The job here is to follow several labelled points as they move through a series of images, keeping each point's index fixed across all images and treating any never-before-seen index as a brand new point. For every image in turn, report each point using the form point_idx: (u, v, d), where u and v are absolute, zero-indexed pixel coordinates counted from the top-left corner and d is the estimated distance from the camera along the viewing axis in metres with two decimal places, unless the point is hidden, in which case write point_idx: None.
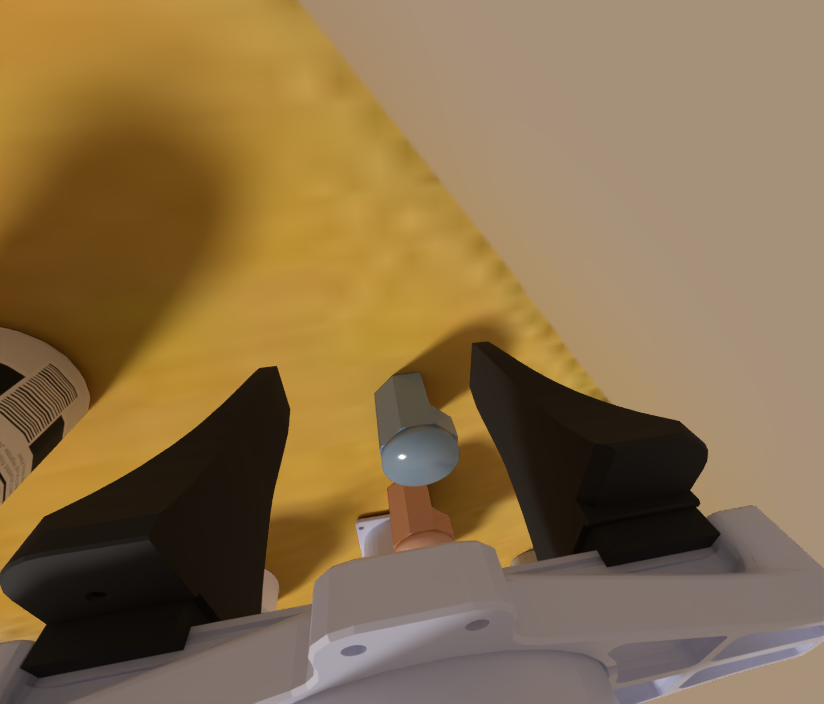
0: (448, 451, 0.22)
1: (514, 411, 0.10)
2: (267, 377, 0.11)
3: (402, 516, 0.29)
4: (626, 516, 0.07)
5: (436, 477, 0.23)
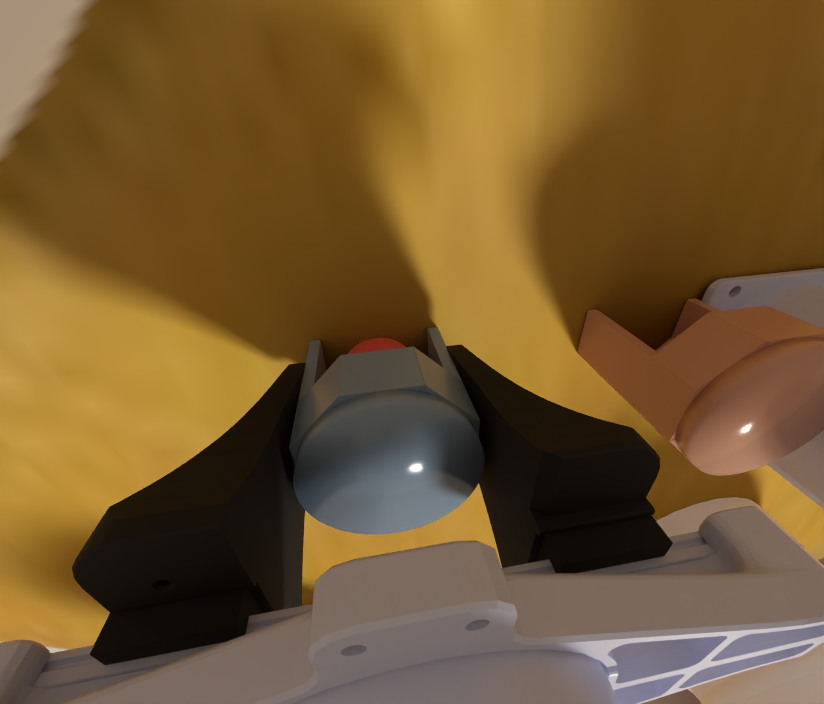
0: (365, 433, 0.08)
1: (480, 416, 0.10)
2: (299, 373, 0.11)
3: (639, 412, 0.13)
4: (578, 525, 0.07)
5: (465, 442, 0.09)
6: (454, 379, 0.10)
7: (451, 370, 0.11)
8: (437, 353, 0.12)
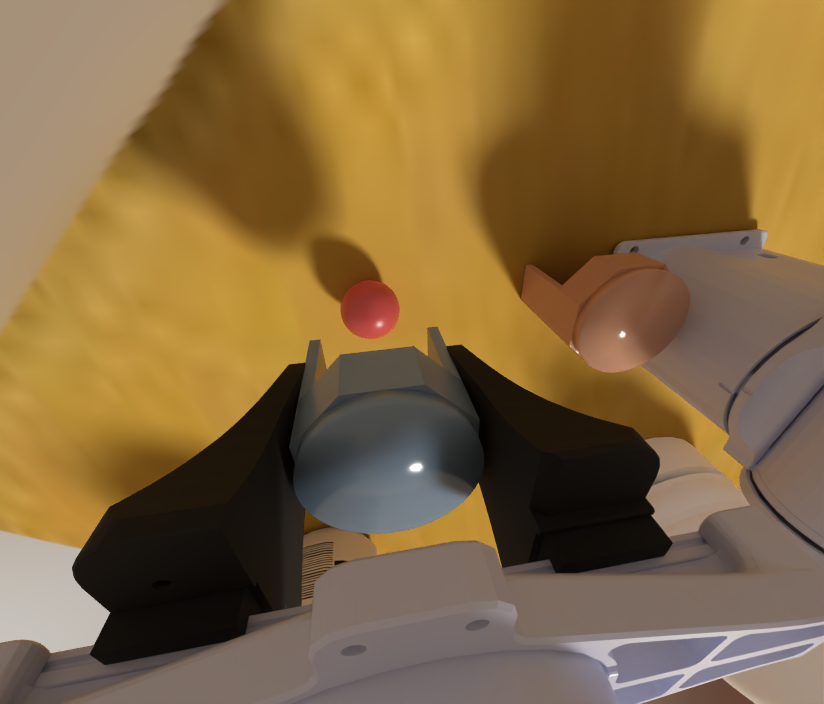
0: (366, 432, 0.08)
1: (480, 416, 0.10)
2: (299, 373, 0.11)
3: None
4: (579, 525, 0.07)
5: (465, 442, 0.09)
6: (454, 379, 0.10)
7: (451, 370, 0.11)
8: (437, 353, 0.12)
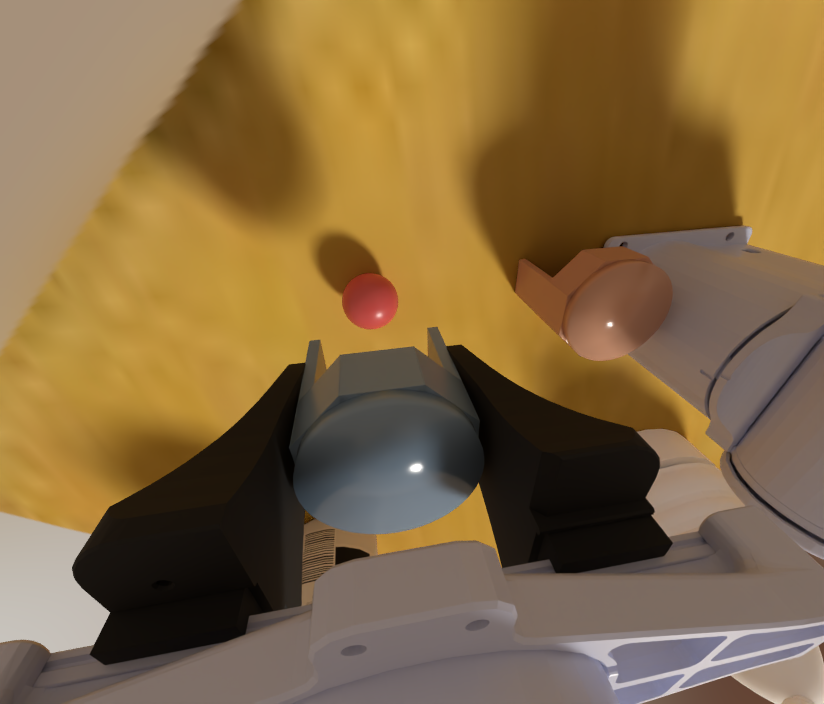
0: (366, 433, 0.08)
1: (480, 416, 0.10)
2: (299, 373, 0.11)
3: None
4: (579, 525, 0.07)
5: (465, 442, 0.09)
6: (454, 379, 0.10)
7: (451, 370, 0.11)
8: (437, 353, 0.12)
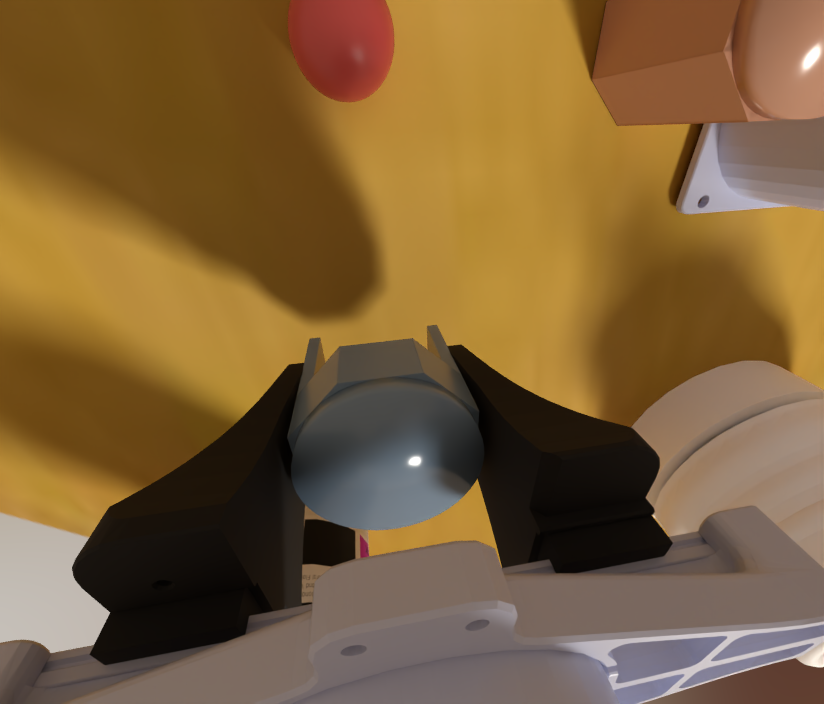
0: (364, 420, 0.08)
1: (480, 416, 0.10)
2: (299, 373, 0.11)
3: (675, 81, 0.10)
4: (579, 525, 0.07)
5: (464, 431, 0.09)
6: (453, 372, 0.10)
7: (450, 364, 0.11)
8: (436, 349, 0.12)
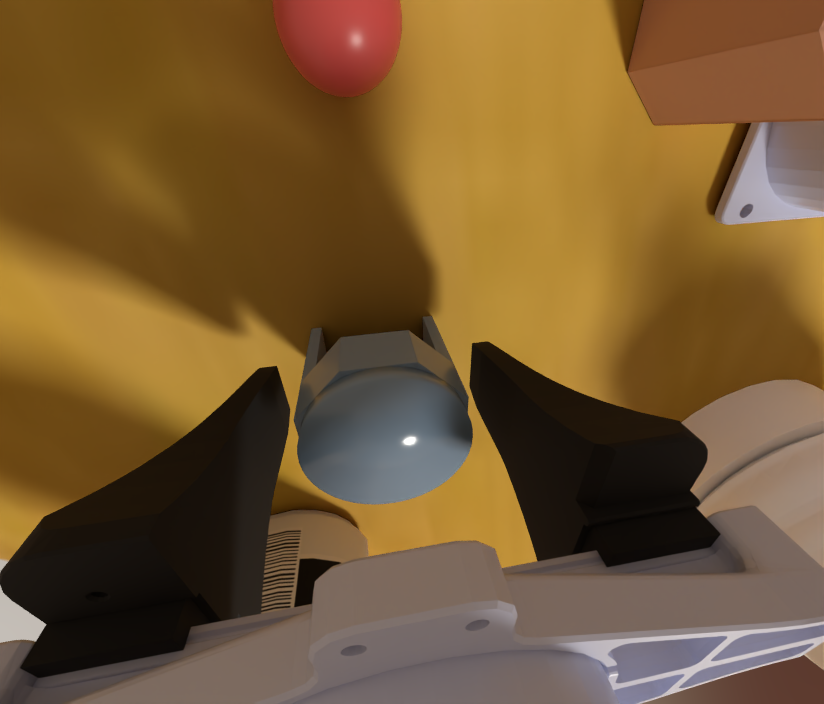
0: (363, 405, 0.09)
1: (514, 411, 0.10)
2: (267, 377, 0.11)
3: (740, 71, 0.08)
4: (626, 516, 0.07)
5: (454, 415, 0.10)
6: (446, 361, 0.11)
7: (443, 354, 0.12)
8: (431, 339, 0.13)
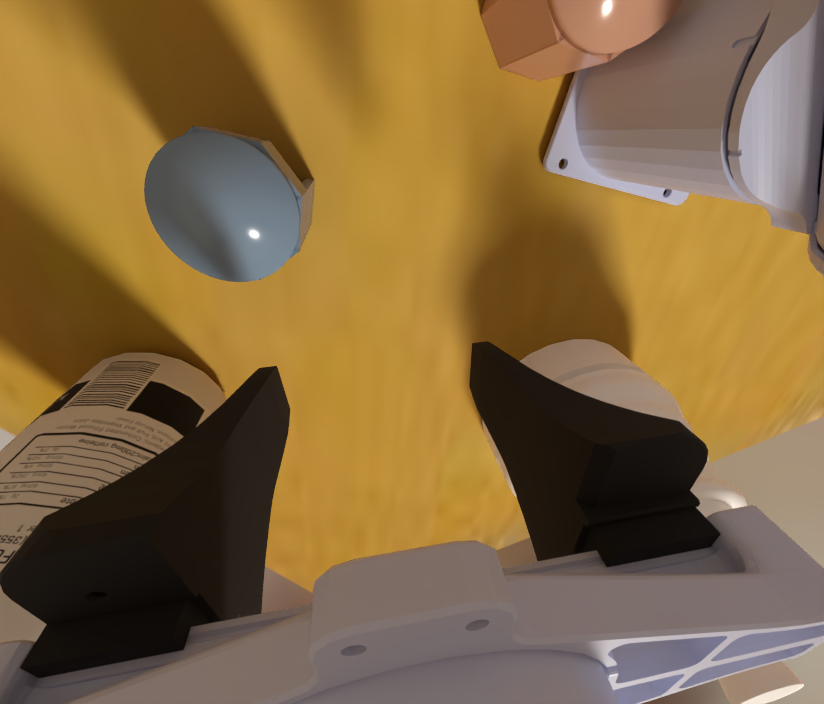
0: (206, 155, 0.11)
1: (514, 411, 0.10)
2: (267, 377, 0.11)
3: (520, 7, 0.12)
4: (626, 516, 0.07)
5: (283, 197, 0.12)
6: (299, 181, 0.14)
7: (304, 186, 0.15)
8: (302, 183, 0.16)
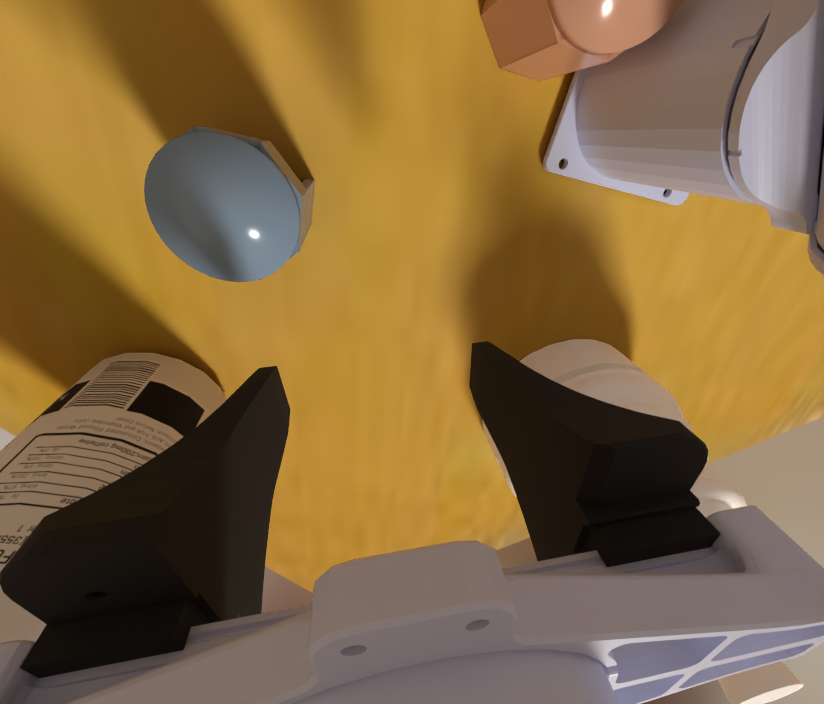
0: (206, 155, 0.11)
1: (514, 411, 0.10)
2: (267, 377, 0.11)
3: (520, 7, 0.12)
4: (626, 516, 0.07)
5: (283, 197, 0.12)
6: (299, 181, 0.14)
7: (304, 186, 0.15)
8: (302, 183, 0.16)
